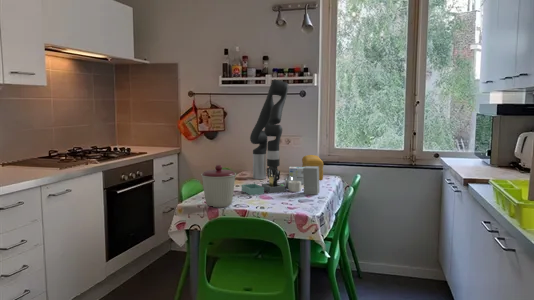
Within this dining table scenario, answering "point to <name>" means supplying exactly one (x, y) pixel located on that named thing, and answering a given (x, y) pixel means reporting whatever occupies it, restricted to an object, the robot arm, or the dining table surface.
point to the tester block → (273, 188)
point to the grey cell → (287, 181)
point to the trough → (252, 189)
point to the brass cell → (271, 181)
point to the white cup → (294, 186)
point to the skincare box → (311, 180)
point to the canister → (218, 186)
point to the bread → (313, 163)
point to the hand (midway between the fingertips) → (273, 186)
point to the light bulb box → (296, 174)
